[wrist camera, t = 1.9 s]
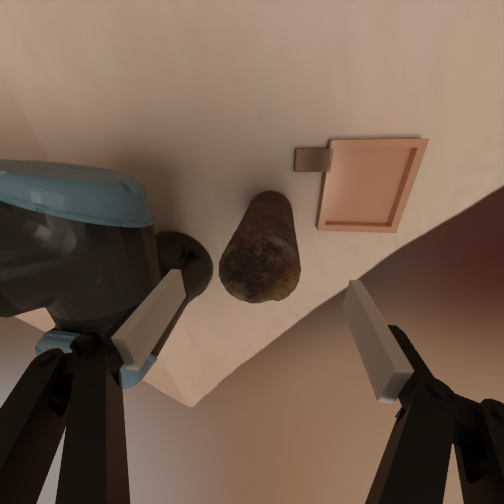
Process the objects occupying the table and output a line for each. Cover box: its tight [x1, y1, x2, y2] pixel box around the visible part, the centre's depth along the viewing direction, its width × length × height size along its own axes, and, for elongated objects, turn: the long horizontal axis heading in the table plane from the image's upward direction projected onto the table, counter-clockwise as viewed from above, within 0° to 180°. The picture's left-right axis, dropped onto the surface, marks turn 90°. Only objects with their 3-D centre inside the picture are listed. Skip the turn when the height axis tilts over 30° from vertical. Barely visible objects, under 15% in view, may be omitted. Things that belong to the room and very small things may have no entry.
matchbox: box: [294, 148, 334, 172], centre depth 29 cm, size 5×3×2 cm, turn 92°
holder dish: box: [316, 139, 429, 233], centre depth 30 cm, size 12×13×2 cm
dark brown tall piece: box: [219, 191, 301, 303], centre depth 26 cm, size 8×7×20 cm
